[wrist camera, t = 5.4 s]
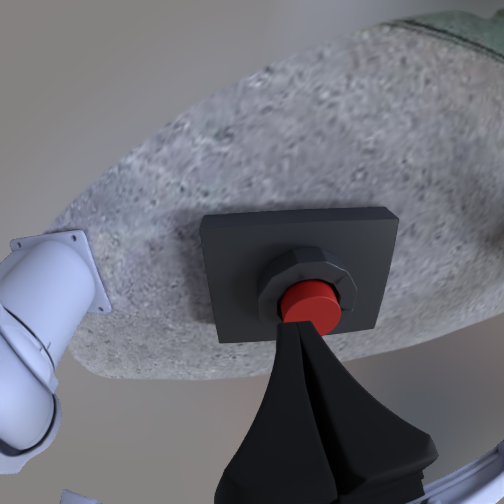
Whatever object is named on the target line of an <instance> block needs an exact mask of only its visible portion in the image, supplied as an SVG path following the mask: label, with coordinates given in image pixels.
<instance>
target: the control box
mask: <svg viewBox="0 0 504 504" xmlns="http://www.w3.org/2000/svg"><path fill="white" fill-rule="evenodd" d="M398 223H399V218H398V217H396V216H395V215H394V214H393V213H392V212H391V211H389V210H388V209H387V208H386V207H368V208H330V209H304V210H283V211H265V212H248V213H233V214H220V215H207V216H204V217H203V220H202V223H201V227H200V236H201V242H202V249H203V255H204V262H205V268H206V274H207V280H208V285H209V291H210V297H211V302H212V308H213V313H214V319H215V324H216V329H217V334H218V339H219V343H241V342H258V341H272V340H276V334H277V325H278V324H279V323H283V317H282V311H281V299H282V297H283V295H284V293H285V292H286V291H287V290H288V289H289V288H290V287H291V286H292V285H294V284H296V283H298V282H301V281H304V280H312V279H313V280H320V281H323V282H325V283H327V284H328V285H329V286H330V287H331V288H332V290H333V292H334V294H335V297H336V299H337V302H338V304H339V306H340V309H341V317H340V320H339V322H338V324H337V325H336V326H335V328H334V329H333V330H331V331H330V332H329V333H327V334H325V335H332V334H340V333H347V332H354V331H361V330H367V329H374V327H375V324H376V320H377V317H378V313H379V310H380V306H381V302H382V299H383V295H384V291H385V287H386V283H387V278H388V274H389V270H390V265H391V261H392V256H393V251H394V246H395V240H396V235H397V229H398Z"/></svg>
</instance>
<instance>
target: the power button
mask: <svg viewBox="0 0 504 504" xmlns="http://www.w3.org/2000/svg"><path fill="white" fill-rule="evenodd" d="M281 311H282V317H283V323H285V322H297V321H308V320H310V321H311V322H312V323H313V324H314V326H315V328H316V329H317V331H318V332H319V334H320V335H321V336H324V335H325V334H327V333H329V332H330V331H331V330H333V329H334V328H335V326H336V325H337V324H338V322H339V320H340V317H341V309H340V306H339V304H338V302H337V299H336V297H335V294H334V292H333V290H332V288H331V287H330V286H329V285H328V284H327V283H325V282H323V281H320V280H313V279H312V280H304V281H301V282H298V283H296V284H294V285H292V286H291V287H290V288H289V289H288V290H287V291H286V292H285V293H284V295H283V297H282V299H281Z"/></svg>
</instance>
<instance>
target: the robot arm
mask: <svg viewBox="0 0 504 504" xmlns="http://www.w3.org/2000/svg"><path fill="white" fill-rule="evenodd" d="M73 235H74V236H75V237H76V239H75V238H74V236H73ZM20 244H21V245H20ZM10 247H11V249H12V253H11V254H10V255H9V256H7V257H6V258H5V259H4V260H3V261H2V262H1V263H0V474H16V473H19V471H20V470H21V468H22V467H23V466H24V464H25V463H26V462H27V461H28V460H29V459H30V458H32V457H33V456H35V455H37V454H39V453H41V452H43V451H44V450H45V449H46V448H47V447H48V446H49V445H50V444H51V443H52V441H53V440H54V438H55V436H56V434H57V432H58V430H59V427H60V422H61V405H60V402H59V399H58V398H57V396H56V394H55V390H56V388H57V385H58V383H59V381H58V380H57V378H56V377H55V375H54V372H55V370H56V368H57V366H58V364H59V362H60V360H61V358H62V356H63V354H64V352H65V350H66V348H67V346H68V344H69V342H70V340H71V338H72V337H73V335H74V333H75V331H76V329H77V327H78V326H79V324H80V322H81V320H82V319H83V317H84V315H85V313H110V311H111V309H112V308H111V305H110V303H109V300H108V298H107V295H106V293H105V290H104V288H103V285H102V282H101V280H100V277H99V274H98V271H97V269H96V266H95V263H94V260H93V257H92V254H91V251H90V248H89V245H88V242H87V239H86V235H85V233H84V232H83V231H82V230H73V231H66V232H58V233H51V234H44V235H38V236H31V237H25V238H19V239H13V240H11V242H10ZM102 308H103V309H102ZM438 456H439V455H438V452H437V450H436V447H435V444H434V443H433V440H432V439H431V437H430V435H429V434H426V433H425V432H423V431H421V430H419V429H417V428H416V427H414V426H412V425H411V424H409V423H407V422H406V421H404V420H403V419H401V418H400V417H398V416H397V415H395V414H394V413H393V412H392V411H390V410H389V409H388V408H386V407H385V406H384V405H382V404H381V403H380V402H379V401H377V400H376V399H375V398H374V397H373V396H372V395H371V394H369V393H368V392H367V391H366V390H365V389H364V388H363V387H362V386H361V385H360V384H359V383H358V382H357V381H356V380H355V379H354V378H353V377H352V375H351V374H350V373H349V372H348V371H347V370H346V369H345V367H344V366H343V365H342V364H341V363H340V361H339V360H338V359H337V358H336V356H335V355H334V354H333V352H332V351H331V350H330V348H329V347H328V346H327V344H326V343H325V341H324V340H323V338H322V337H321V335H320V334H319V332H318V331H317V329H316V328H315V326H314V324H313V323H312V322H311V321H310V320H308V321H297V322H285V323H279V324H278V325H277V334H276V354H275V360H274V365H273V369H272V372H271V376H270V380H269V383H268V386H267V389H266V392H265V395H264V398H263V400H262V403H261V406H260V408H259V410H258V412H257V414H256V417H255V419H254V421H253V423H252V425H251V427H250V429H249V431H248V433H247V435H246V436H245V438H244V440H243V442H242V444H241V445H240V447H239V449H238V451H237V452H236V454H235V455H234V456H233V458H232V459H231V461H230V463H229V464H228V466H227V467H226V468H225V470H224V472H223V475H222V477H221V479H220V482H219V484H218V486H217V489H216V492H215V496H214V504H416V503H418V502H421V501H422V502H421V503H420V504H495V503H496V502H498V501H499V500H500V499H501V498H502V497H503V496H504V440H503V441H501V442H500V443H499V444H498V445H497V446H496V447H495V448H493V449H492V450H490V451H489V452H487V453H486V454H484V455H482V456H481V457H479V458H477V459H476V460H474V461H472V462H470V463H469V464H467V465H465V466H463V467H462V468H460V469H458V470H456V471H454V472H452V473H450V474H448V475H446V476H444V477H442V478H440V479H438V480H436V481H434V482H432V483H430V484H427V485H426V486H423V485H422V482H421V479H423V478H424V475H423V472H422V470H423V469H425V468H426V467H427V466H429V465H430V464H432V463H433V462H434V461H435V460H436V459H437V458H438ZM60 504H101V503H100V502H98V501H96V500H93V499H91V498H88V497H85V496H82V495H80V494H77V493H74V492H72V491H69V490H67V489H63V491H62V495H61V500H60Z"/></svg>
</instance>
